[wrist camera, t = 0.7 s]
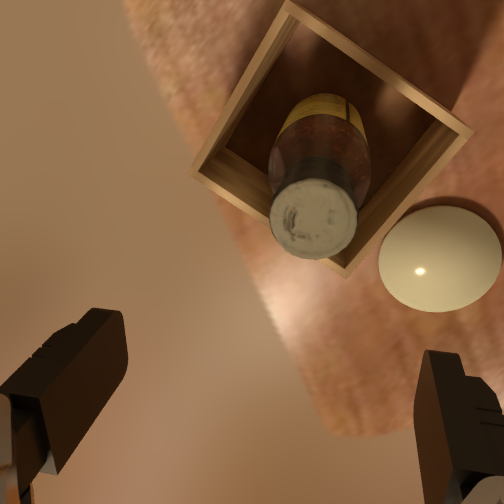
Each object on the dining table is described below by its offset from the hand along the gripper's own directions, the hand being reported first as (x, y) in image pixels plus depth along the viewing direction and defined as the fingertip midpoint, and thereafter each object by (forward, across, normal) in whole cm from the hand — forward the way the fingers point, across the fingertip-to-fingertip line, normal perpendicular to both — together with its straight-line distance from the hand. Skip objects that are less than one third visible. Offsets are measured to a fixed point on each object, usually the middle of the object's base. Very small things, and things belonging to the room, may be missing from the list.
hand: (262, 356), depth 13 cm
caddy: (+30, 0, 0) cm, 30 cm away
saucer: (+30, -10, +10) cm, 33 cm away
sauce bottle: (+30, 0, 0) cm, 30 cm away
